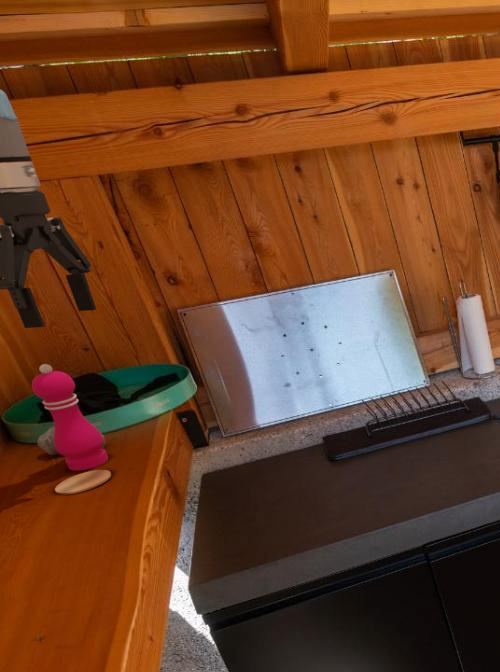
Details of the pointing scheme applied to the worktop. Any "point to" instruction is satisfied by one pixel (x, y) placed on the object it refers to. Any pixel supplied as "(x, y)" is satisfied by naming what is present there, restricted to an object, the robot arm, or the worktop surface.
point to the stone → (52, 442)
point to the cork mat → (83, 482)
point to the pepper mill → (69, 421)
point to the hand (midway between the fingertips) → (62, 318)
